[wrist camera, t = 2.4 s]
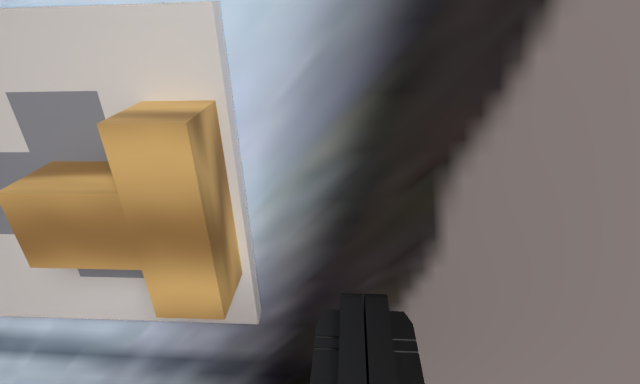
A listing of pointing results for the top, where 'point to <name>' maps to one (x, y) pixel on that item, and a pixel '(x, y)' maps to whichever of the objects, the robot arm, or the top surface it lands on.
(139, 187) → the t block
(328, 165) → the top surface
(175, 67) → the t board
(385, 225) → the top surface
